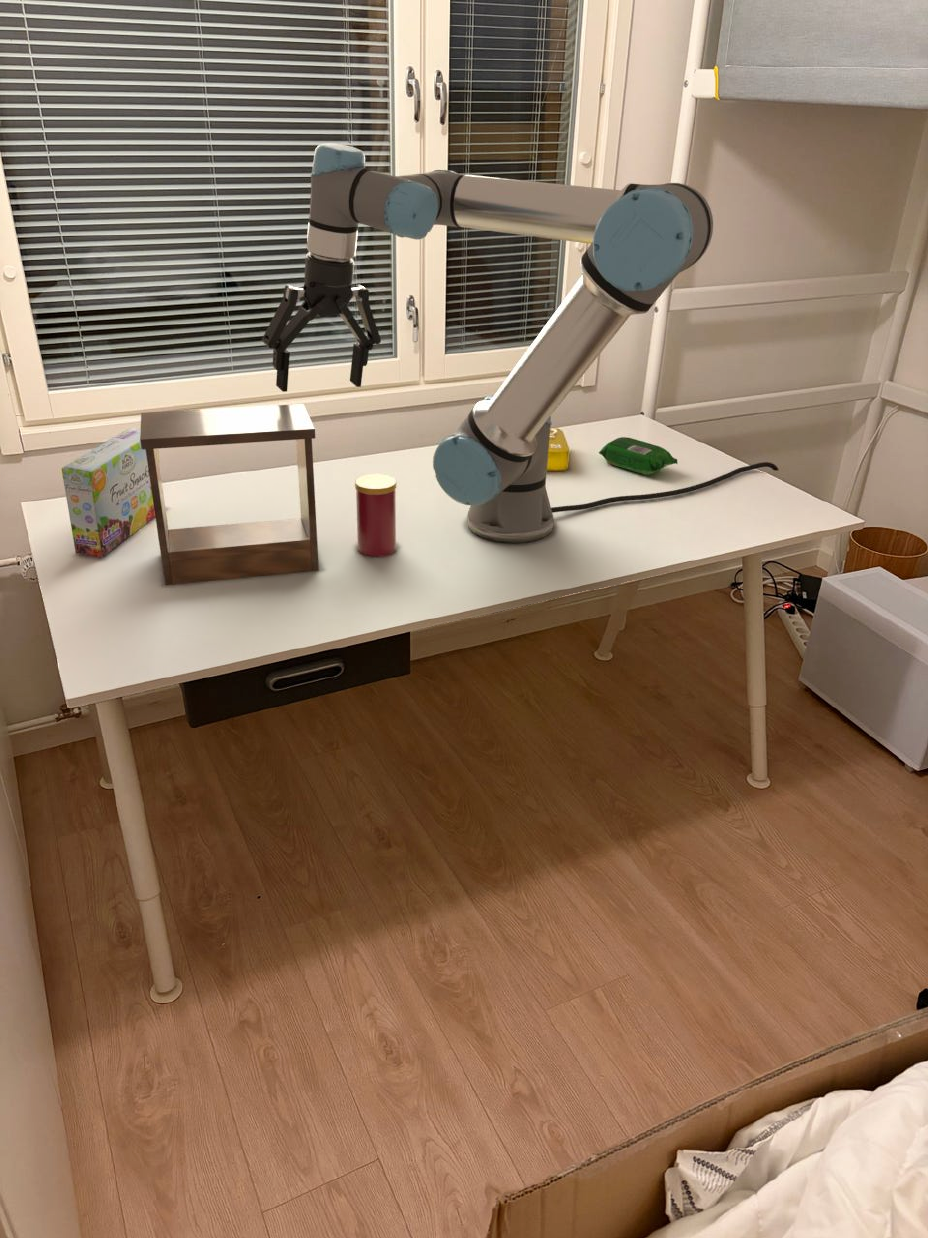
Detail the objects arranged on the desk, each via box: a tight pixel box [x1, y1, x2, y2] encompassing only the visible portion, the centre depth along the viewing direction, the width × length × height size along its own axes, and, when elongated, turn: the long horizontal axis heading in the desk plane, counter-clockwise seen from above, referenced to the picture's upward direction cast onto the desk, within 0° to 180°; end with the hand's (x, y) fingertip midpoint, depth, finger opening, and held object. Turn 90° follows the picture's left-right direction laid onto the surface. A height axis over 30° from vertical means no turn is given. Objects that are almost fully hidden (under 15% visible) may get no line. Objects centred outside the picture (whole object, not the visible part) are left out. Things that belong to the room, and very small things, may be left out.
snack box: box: [61, 427, 162, 558], centre depth 157 cm, size 21×6×15 cm, turn 168°
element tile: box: [547, 427, 570, 472], centre depth 197 cm, size 15×15×5 cm
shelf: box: [140, 403, 320, 586], centre depth 147 cm, size 25×13×24 cm, turn 106°
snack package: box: [598, 436, 678, 476], centre depth 193 cm, size 7×16×5 cm, turn 46°
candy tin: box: [354, 473, 397, 557], centre depth 155 cm, size 7×7×12 cm
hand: (319, 386), depth 157 cm, fingers open, 13 cm apart
